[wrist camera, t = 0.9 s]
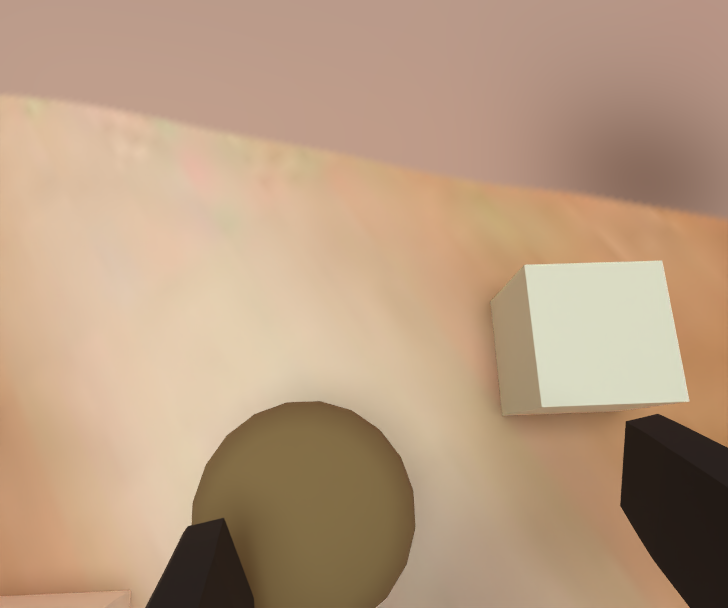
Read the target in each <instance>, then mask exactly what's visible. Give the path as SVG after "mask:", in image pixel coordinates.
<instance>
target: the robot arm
mask: <svg viewBox="0 0 728 608" xmlns="http://www.w3.org/2000/svg"><path fill="white" fill-rule="evenodd" d="M620 506H621V508H622V509H623V511H624V513H625V514H626V516H627V518H628V519H629V521H630V523H631V525H632V526H633V528H634V530H635V531H636V533H637V535H638V536H639V538H640V539H641V541H642V543H643V544H644V546H645V547H646V549H647V551H648V552H649V554H650V555H651V557H652V558H653V560H654V561H655V563H656V564H657V565H658V567H659V568H660V569H661V571H662V572H663V573H664V575H665V576H666V577H667V578H668V580H669V581H670V582H671V584H672V585H673V586H674V588H675V589H676V590H677V591H678V593H679V594H680V595H681V597H682V598H683V599H684V600H685V602H686V603H687V604H688V606H689V607H690V608H728V448H727V447H725V446H723V445H721V444H719V443H717V442H715V441H713V440H711V439H709V438H707V437H705V436H703V435H701V434H699V433H697V432H695V431H693V430H691V429H689V428H687V427H685V426H683V425H681V424H679V423H677V422H675V421H672V420H670V419H668V418H666V417H664V416H662V415H659V414H655V415H651V416H647V417H643V418H639V419H634V420H630V421H626V428H625V443H624V458H623V473H622V488H621V503H620ZM145 608H254V597H253V594H252V591H251V588H250V586H249V583H248V580H247V578H246V575H245V572H244V570H243V567H242V564H241V562H240V559H239V556H238V554H237V551H236V548H235V546H234V543H233V540H232V537H231V535H230V532H229V529H228V527H227V524H226V521H225V519H224V518H221V519H216V520H212V521H208V522H204V523H200V524H195V525H191V526H188V527H187V528H186V530H185V531H184V533H183V534H182V536H181V538H180V541H179V543H178V545H177V547H176V549H175V551H174V553H173V555H172V557H171V559H170V561H169V563H168V565H167V567H166V569H165V571H164V573H163V575H162V577H161V578H160V580H159V582H158V584H157V586H156V588H155V590H154V592H153V594H152V596H151V598H150V600H149V602H148V604H147V606H146V607H145Z"/></svg>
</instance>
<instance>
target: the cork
mask: <svg viewBox="0 0 728 608" xmlns="http://www.w3.org/2000/svg"><path fill="white" fill-rule="evenodd" d="M221 518H224V519H225V521H226V524H227V527H228V529H229V532H230V535H231V537H232V540H233V543H234V546H235V548H236V551H237V554H238V556H239V559H240V562H241V564H242V567H243V570H244V572H245V575H246V578H247V580H248V583H249V586H250V588H251V591H252V594H253V597H254V608H375V607H377V606H378V605H379V604H380V603H381V602H382V601H383V600H384V599H386V598H387V596H388V595H389V593H390V591H391V590H392V588H393V586H394V585H395V583H396V581H397V580H398V578H399V576H400V574H401V573H402V571H403V569H404V568H405V566H406V564H407V560H408V556H409V552H410V548H411V543H412V539H413V535H414V531H415V514H414V497H413V489H412V486H411V483H410V481H409V478H408V475H407V473H406V470H405V467H404V465H403V462H402V459H401V457H400V455H399V454H398V453H397V452H396V450H395V449H394V448H393V446H392V445H391V444H390V442H389V441H388V440H387V439H386V437H385V436H384V435H383V433H382V432H381V431H380V430H379V429H378V428H376V427H375V426H374V425H372V424H371V423H369V422H368V421H366V420H365V419H363V418H362V417H360V416H359V415H358V414H356V413H355V412H353V411H352V410H348V409H345V408H341V407H338V406H334V405H331V404H327V403H324V402H320V401H316V402H289V403H284V404H281V405H279V406H276V407H273V408H271V409H268V410H265V411H262V412H260V413H257V414H254V415H253V416H252V417H251V418H249V419H248V420H247V421H245V422H244V423H243V424H241V425H240V426H239V427H238V428H236V429H235V430H234V431H232V432H231V433H230V434H228V435H227V436H226V438H225V439H224V440H223V442H222V443H221V445H220V446H219V447H218V449H217V450H216V452H215V453H214V454H213V456H212V457H211V459H210V460H209V461H208V463H207V464H206V466H205V469H204V472H203V475H202V477H201V480H200V483H199V486H198V489H197V492H196V495H195V498H194V501H193V508H192V525H195V524H200V523H204V522H208V521H212V520H216V519H221Z"/></svg>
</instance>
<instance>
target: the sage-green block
mask: <svg viewBox="0 0 728 608" xmlns="http://www.w3.org/2000/svg"><path fill="white" fill-rule="evenodd" d="M490 304H491V313H492V323H493V333H494V342H495V352H496V362H497V371H498V381H499V391H500V401H501V410H502V416H511V415H537V414H563V413H589V412H615V411H625V410H632V409H639V408H647V407H654V406H661V405H668V404H675V403H682V402H689V397H688V392H687V387H686V381H685V376H684V371H683V366H682V361H681V356H680V350H679V345H678V340H677V335H676V330H675V325H674V319H673V314H672V309H671V304H670V299H669V294H668V288H667V283H666V278H665V273H664V268H663V263H662V261H636V262H603V263H570V264H536V265H524V266H523V267H522V268H521V269H520V270H519V271H518V272H517V273H516V274H515V275H514V276H513V278H512V279H511V280H510V281H509V282H508V283H507V284H506V285H505V286H504V287H503V288H502V289H501V290H500V292H499V293H498V294H497V295H496V296H495V297H494V298H493V299H492V300H491V301H490Z"/></svg>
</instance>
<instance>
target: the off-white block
mask: <svg viewBox="0 0 728 608" xmlns="http://www.w3.org/2000/svg"><path fill="white" fill-rule="evenodd" d="M130 599H131V590H122V591H101V592H81V593H60V594H39V595H18V596H0V608H130Z"/></svg>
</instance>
